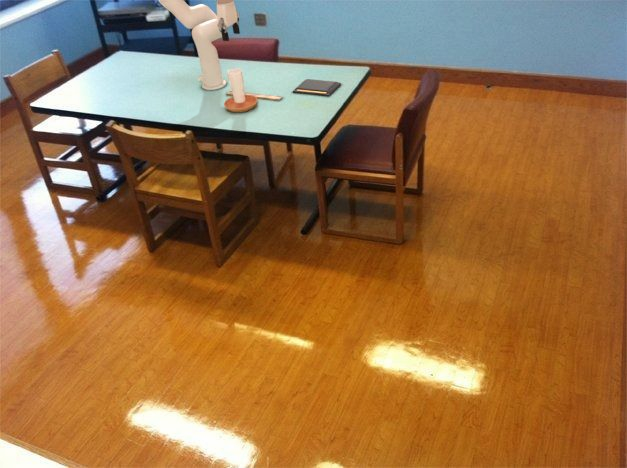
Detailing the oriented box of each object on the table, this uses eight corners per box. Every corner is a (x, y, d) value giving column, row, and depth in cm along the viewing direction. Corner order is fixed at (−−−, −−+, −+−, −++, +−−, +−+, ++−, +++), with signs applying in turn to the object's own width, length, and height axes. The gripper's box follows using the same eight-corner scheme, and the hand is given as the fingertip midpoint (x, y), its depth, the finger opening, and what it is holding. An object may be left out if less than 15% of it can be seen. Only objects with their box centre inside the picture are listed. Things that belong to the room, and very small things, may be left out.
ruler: (226, 94, 298) (226, 93, 297) (229, 92, 300) (229, 90, 300) (279, 100, 286) (279, 99, 286) (282, 98, 288) (282, 96, 288)
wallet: (341, 80, 293) (328, 93, 283) (342, 84, 295) (328, 97, 284) (305, 76, 302) (291, 88, 291) (306, 80, 303) (291, 92, 292)
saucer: (237, 98, 293) (236, 92, 292) (264, 102, 286) (263, 96, 285) (218, 112, 283) (217, 106, 281) (246, 116, 276) (244, 110, 274)
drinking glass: (244, 104, 279) (239, 73, 270) (231, 104, 281) (225, 74, 272) (248, 98, 284) (243, 67, 276) (235, 98, 286) (229, 68, 277)
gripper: (227, -7, 278) (234, 30, 288) (207, 5, 266) (214, 43, 276) (241, -6, 275) (247, 31, 285) (221, 5, 263) (228, 44, 273)
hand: (231, 37), depth 281 cm, fingers open, 9 cm apart
